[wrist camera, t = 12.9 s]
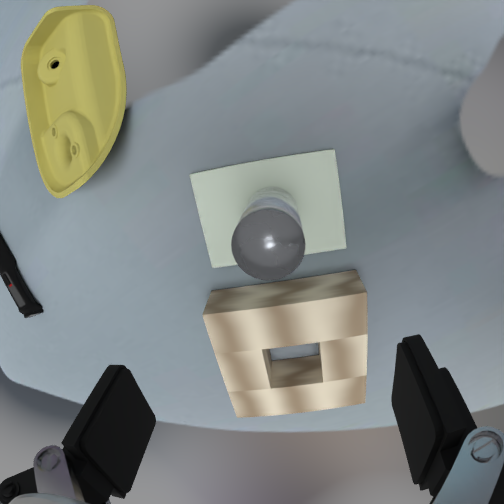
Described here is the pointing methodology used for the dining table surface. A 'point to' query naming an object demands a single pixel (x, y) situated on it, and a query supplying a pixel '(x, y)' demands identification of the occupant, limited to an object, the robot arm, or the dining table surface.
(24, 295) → the electric trimmer
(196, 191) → the mat
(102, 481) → the robot arm
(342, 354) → the bore block
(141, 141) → the dining table surface
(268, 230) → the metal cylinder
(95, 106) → the plastic component
